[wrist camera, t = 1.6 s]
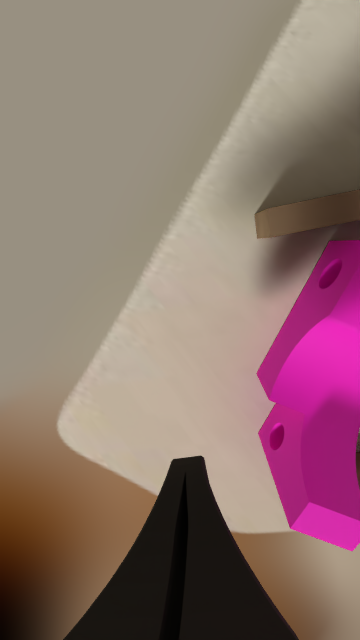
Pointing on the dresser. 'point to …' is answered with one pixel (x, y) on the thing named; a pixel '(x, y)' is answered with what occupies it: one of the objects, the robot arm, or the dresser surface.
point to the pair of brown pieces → (310, 224)
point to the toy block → (318, 401)
